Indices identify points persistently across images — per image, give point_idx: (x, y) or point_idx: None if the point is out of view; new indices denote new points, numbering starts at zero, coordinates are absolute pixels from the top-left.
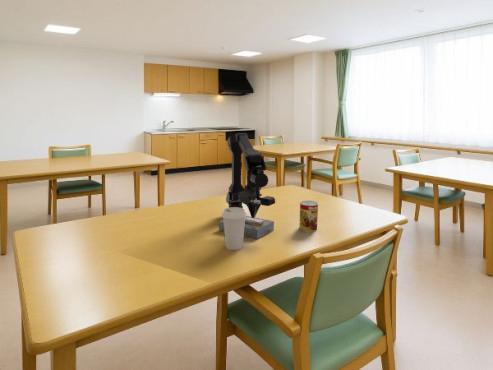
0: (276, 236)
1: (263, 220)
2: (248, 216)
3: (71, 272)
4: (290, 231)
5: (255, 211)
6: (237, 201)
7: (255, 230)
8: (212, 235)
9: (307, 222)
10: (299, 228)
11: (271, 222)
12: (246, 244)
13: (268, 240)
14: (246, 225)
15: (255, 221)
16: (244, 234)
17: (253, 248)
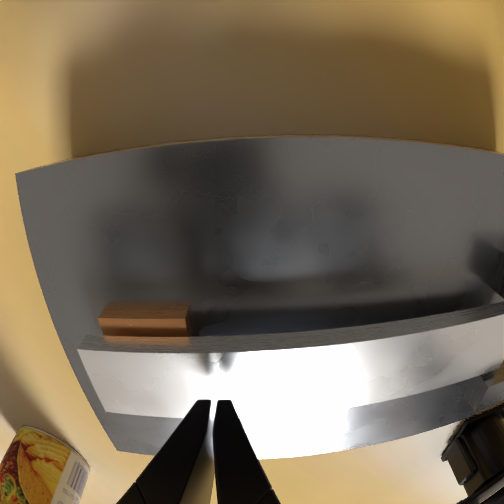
0: (31, 306)
1: (104, 407)
2: (375, 442)
3: None
4: (59, 409)
5: (144, 491)
6: (494, 487)
7: (38, 167)
8: (464, 21)
9: (8, 458)
10: (69, 447)
11: (106, 428)
12: (79, 8)
13: (8, 203)
14: (226, 228)
15: (144, 350)
16: (211, 139)
17: (11, 9)
